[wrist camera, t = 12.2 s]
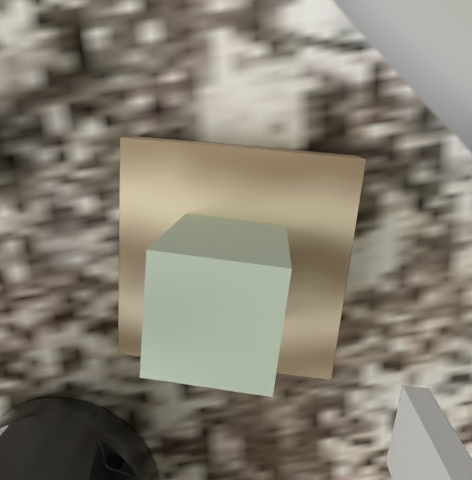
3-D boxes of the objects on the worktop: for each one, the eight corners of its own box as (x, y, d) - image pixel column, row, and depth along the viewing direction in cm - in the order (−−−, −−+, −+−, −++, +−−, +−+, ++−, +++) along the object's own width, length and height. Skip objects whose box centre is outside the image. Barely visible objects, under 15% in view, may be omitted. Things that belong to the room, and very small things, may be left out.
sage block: (273, 318, 26) (272, 396, 19) (178, 306, 27) (139, 377, 19) (286, 225, 25) (291, 268, 17) (185, 213, 25) (146, 249, 17)
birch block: (323, 348, 31) (330, 379, 27) (136, 326, 32) (118, 353, 28) (353, 154, 27) (366, 158, 23) (141, 136, 28) (120, 137, 24)
